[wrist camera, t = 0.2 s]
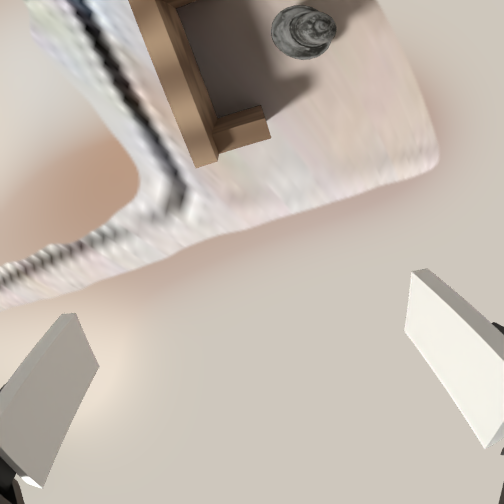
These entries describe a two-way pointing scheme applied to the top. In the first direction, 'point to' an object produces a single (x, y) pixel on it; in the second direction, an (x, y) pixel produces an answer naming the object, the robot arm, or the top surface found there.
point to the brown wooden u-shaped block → (192, 86)
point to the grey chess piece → (302, 32)
